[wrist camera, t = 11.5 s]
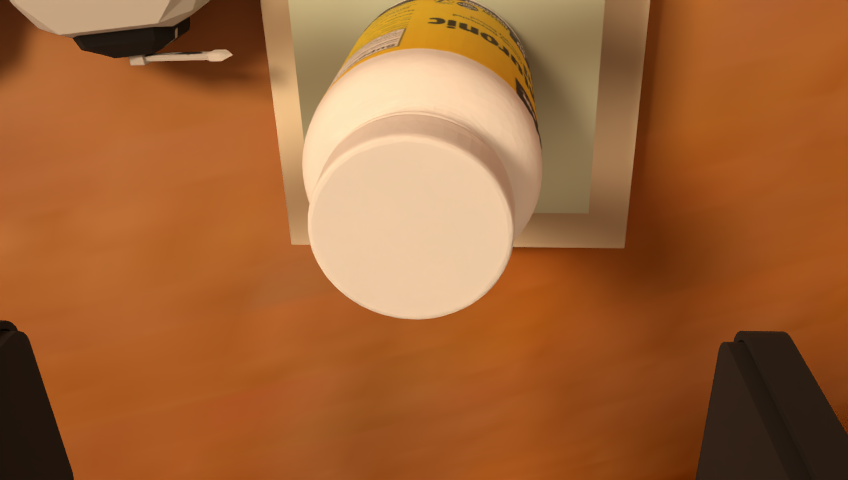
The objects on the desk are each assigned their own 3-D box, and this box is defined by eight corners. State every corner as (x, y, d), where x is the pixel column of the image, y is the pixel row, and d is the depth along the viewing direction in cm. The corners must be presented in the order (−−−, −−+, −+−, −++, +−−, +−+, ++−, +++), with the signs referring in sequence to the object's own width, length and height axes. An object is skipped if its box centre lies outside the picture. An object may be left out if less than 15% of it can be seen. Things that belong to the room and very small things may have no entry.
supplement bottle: (567, 97, 23) (609, 264, 15) (426, 195, 25) (391, 394, 17) (456, -55, 22) (430, 38, 13) (313, 64, 24) (208, 212, 15)
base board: (619, 230, 32) (641, 306, 27) (299, 226, 33) (266, 299, 28) (665, -237, 24) (707, -248, 19) (245, -220, 25) (185, -227, 20)
